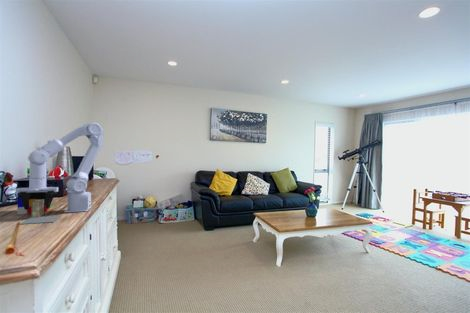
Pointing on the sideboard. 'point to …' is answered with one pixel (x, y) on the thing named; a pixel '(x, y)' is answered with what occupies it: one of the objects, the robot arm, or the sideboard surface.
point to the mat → (40, 220)
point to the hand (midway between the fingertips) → (37, 208)
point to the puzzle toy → (32, 198)
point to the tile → (37, 208)
